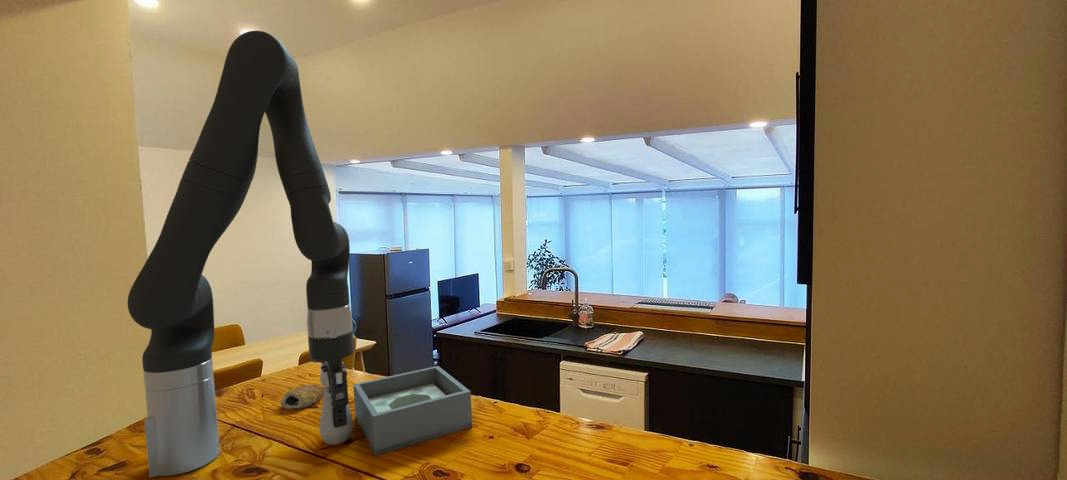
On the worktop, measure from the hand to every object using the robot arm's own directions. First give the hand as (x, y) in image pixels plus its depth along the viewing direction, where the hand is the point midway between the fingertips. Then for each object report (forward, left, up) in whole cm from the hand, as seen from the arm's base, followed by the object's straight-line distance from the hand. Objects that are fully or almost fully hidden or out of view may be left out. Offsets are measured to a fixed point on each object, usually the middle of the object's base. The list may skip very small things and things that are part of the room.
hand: (336, 417), depth 84 cm
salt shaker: (0, 0, -4) cm, 4 cm away
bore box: (+13, -1, -4) cm, 14 cm away
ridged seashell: (-4, +23, -5) cm, 24 cm away
